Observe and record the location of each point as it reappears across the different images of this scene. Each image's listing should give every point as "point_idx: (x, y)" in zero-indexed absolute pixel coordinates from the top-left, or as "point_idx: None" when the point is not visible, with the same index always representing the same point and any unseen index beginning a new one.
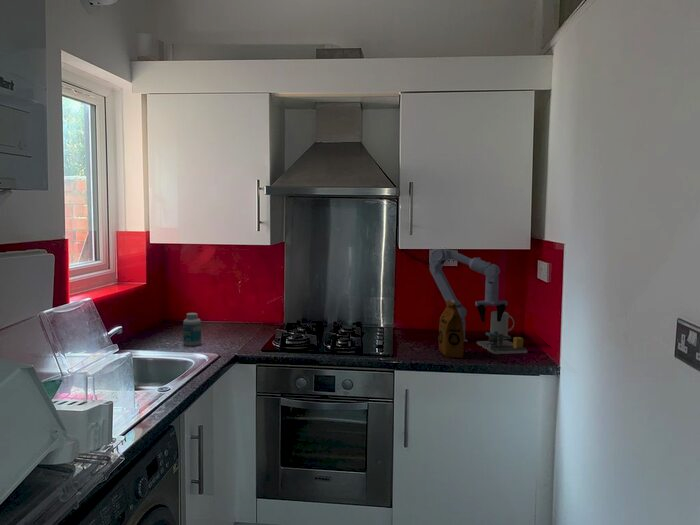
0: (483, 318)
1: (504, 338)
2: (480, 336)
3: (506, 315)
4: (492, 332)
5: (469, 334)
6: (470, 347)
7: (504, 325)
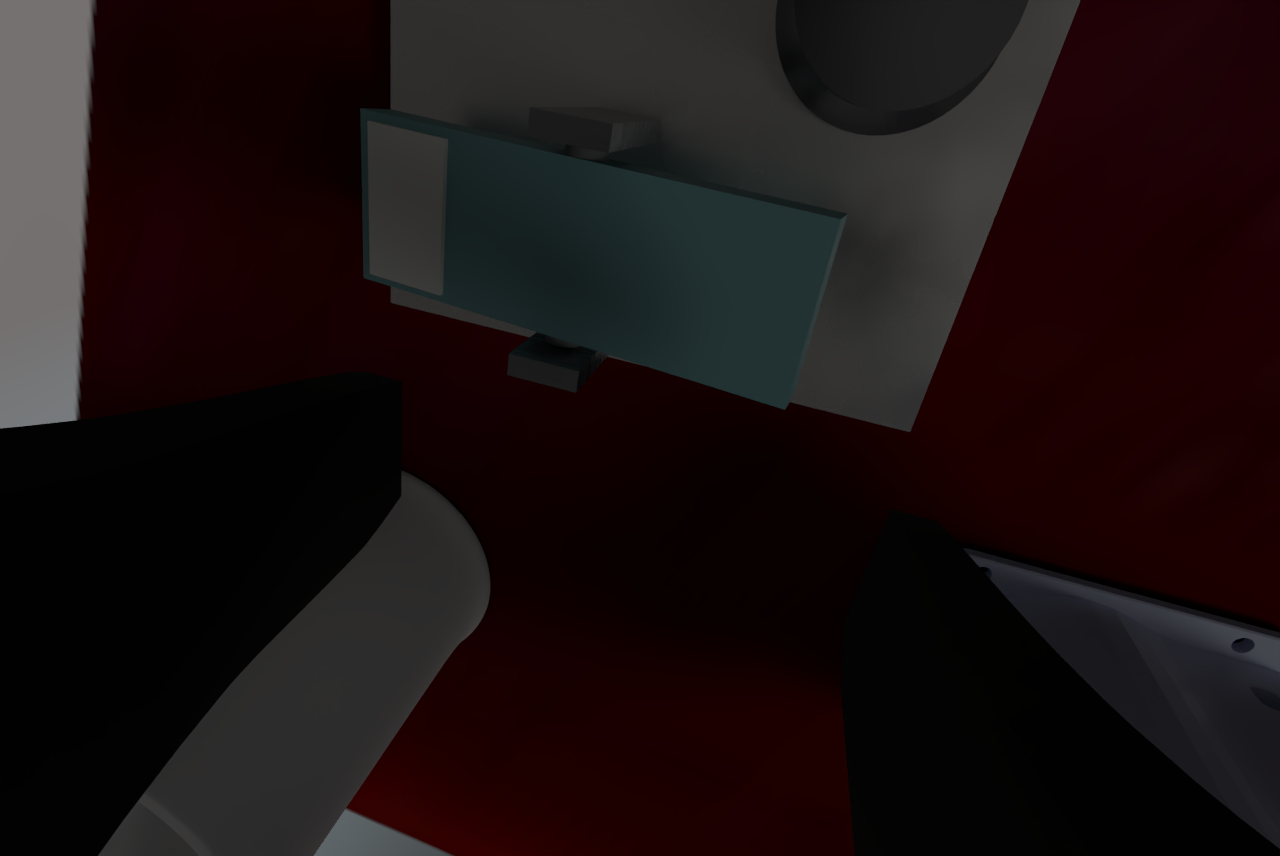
0: (986, 582)
1: None
2: (575, 676)
3: None
4: (447, 611)
5: (645, 784)
6: (1239, 236)
7: None
